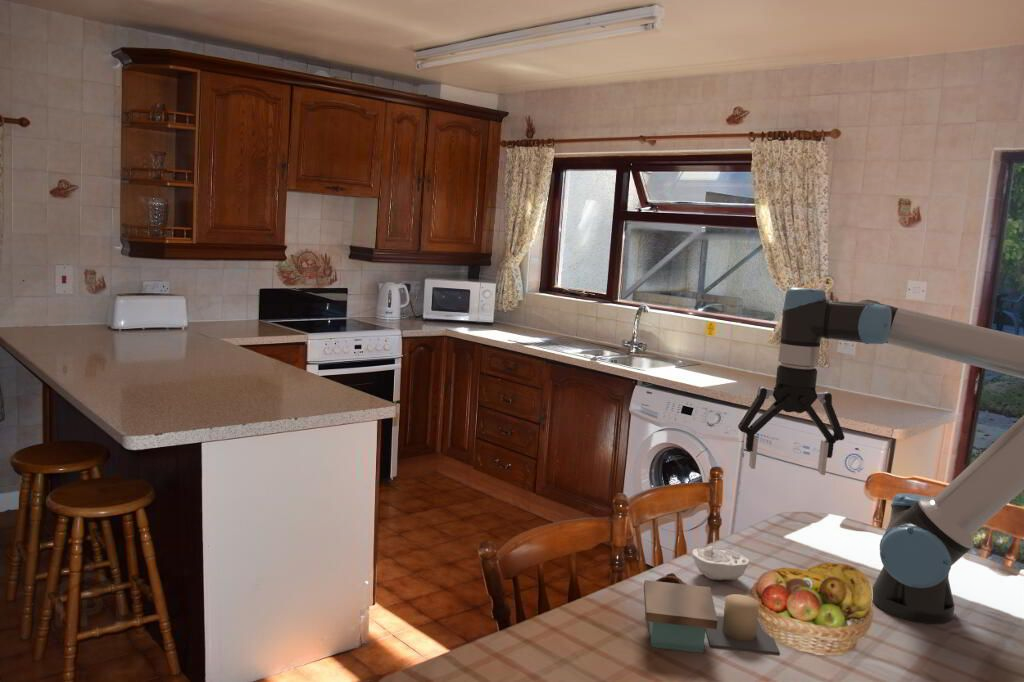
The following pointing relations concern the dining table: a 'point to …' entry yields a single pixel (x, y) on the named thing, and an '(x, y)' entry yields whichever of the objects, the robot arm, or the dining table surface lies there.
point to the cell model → (720, 563)
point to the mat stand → (741, 627)
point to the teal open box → (676, 636)
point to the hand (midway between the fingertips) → (786, 470)
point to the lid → (679, 604)
